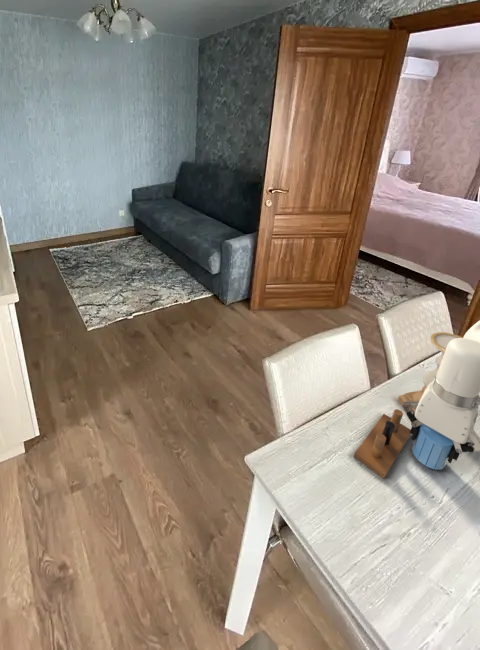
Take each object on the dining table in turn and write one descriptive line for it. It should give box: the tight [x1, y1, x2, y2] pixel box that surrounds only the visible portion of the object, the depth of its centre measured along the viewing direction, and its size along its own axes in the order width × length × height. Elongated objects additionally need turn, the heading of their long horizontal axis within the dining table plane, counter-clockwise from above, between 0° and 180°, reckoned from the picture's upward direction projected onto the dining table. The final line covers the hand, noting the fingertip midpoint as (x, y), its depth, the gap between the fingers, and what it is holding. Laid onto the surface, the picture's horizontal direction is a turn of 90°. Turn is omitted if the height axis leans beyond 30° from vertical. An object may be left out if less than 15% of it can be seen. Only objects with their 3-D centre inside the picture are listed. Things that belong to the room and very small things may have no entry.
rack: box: [353, 408, 412, 479], centre depth 86 cm, size 18×7×8 cm, turn 130°
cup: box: [411, 424, 454, 470], centre depth 82 cm, size 7×7×8 cm
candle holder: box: [397, 331, 464, 412], centre depth 93 cm, size 11×11×24 cm
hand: (432, 447), depth 83 cm, fingers closed on cup, 6 cm apart
